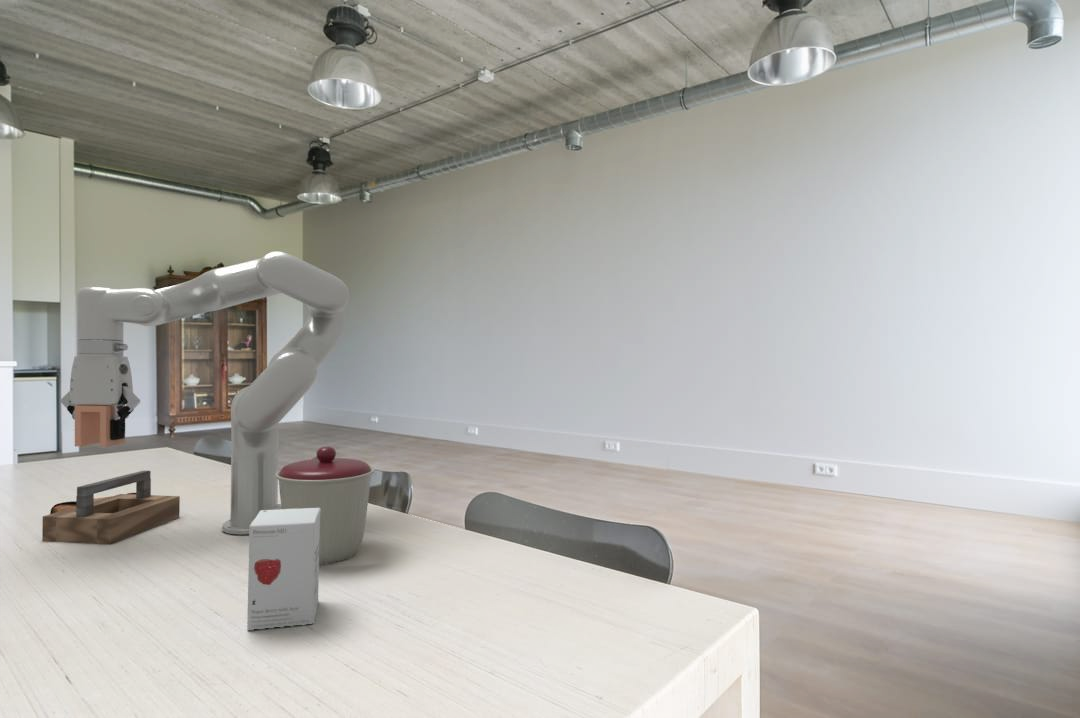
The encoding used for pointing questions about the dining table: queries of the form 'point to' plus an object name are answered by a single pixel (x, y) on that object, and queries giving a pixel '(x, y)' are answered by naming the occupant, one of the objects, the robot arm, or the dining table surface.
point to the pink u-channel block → (94, 426)
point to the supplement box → (283, 568)
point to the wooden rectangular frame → (111, 512)
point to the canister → (330, 499)
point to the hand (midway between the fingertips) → (100, 438)
